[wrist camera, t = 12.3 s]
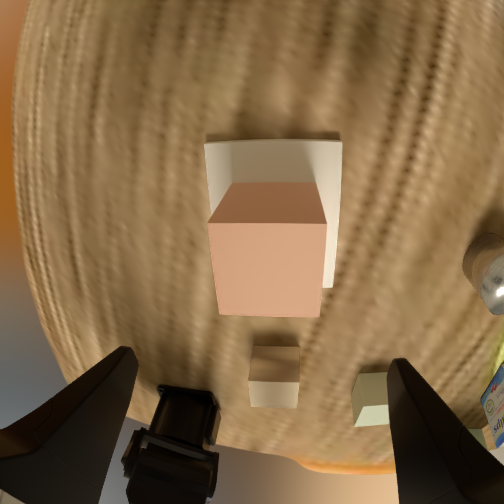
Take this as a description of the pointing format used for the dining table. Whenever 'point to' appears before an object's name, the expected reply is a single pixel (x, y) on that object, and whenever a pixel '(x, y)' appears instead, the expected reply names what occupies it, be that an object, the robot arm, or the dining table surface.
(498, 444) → the medicine box
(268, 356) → the birch block
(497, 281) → the grey metal cylinder
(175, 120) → the dining table surface
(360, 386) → the sage block
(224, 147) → the grey mat
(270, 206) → the coral block
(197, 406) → the robot arm
